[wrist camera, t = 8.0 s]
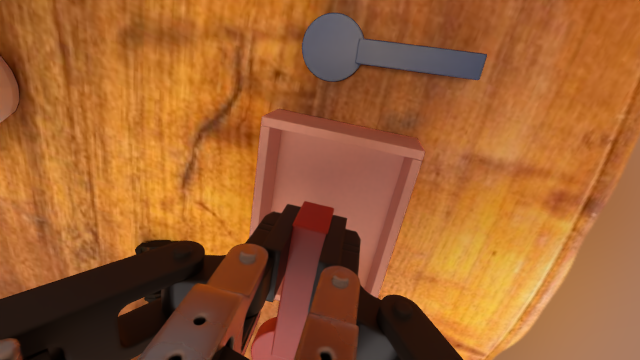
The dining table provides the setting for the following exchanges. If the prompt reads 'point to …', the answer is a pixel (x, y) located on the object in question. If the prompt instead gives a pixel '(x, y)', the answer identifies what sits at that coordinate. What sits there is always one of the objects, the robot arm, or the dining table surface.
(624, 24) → the dining table surface
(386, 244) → the rose bin
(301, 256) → the red spoon
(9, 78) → the coffee cup
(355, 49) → the blue spoon
